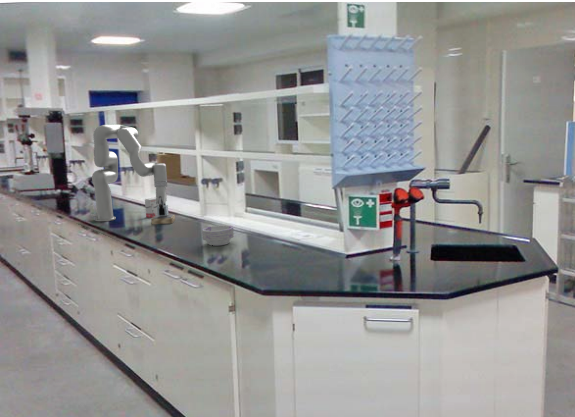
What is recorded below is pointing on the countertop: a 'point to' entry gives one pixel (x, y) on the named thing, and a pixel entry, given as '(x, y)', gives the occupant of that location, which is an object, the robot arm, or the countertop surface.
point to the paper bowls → (218, 235)
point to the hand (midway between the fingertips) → (162, 213)
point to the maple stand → (163, 219)
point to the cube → (164, 209)
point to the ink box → (151, 207)
